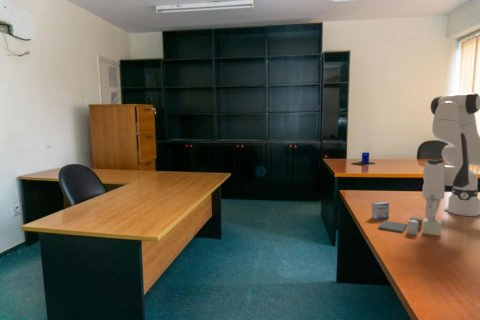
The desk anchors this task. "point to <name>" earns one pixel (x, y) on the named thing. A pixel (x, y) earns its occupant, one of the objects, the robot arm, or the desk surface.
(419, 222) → the walnut cube
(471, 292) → the desk surface
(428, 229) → the sage brick
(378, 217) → the medicine box
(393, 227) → the charcoal pad
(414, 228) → the grey plastic egg
